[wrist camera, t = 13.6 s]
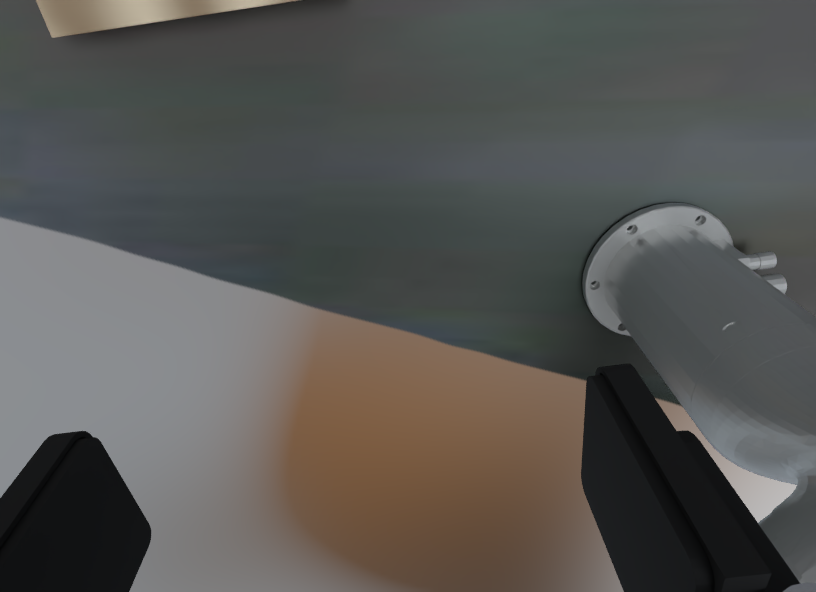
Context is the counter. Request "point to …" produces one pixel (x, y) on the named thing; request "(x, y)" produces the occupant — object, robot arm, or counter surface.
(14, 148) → the counter surface
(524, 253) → the counter surface
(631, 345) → the counter surface
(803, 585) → the robot arm
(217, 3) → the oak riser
